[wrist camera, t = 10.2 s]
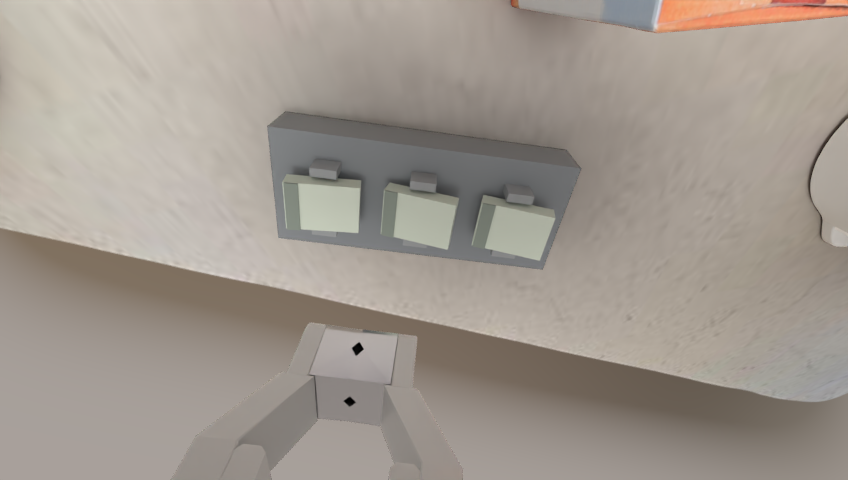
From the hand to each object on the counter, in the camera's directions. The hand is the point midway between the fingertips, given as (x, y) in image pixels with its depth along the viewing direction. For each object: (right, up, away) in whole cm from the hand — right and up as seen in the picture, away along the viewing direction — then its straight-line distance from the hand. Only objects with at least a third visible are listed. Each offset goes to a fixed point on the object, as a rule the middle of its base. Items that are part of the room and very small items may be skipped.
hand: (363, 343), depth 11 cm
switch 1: (-6, +6, +19) cm, 21 cm away
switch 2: (+1, +5, +19) cm, 20 cm away
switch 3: (+9, +4, +20) cm, 22 cm away
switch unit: (+1, +8, +24) cm, 26 cm away
